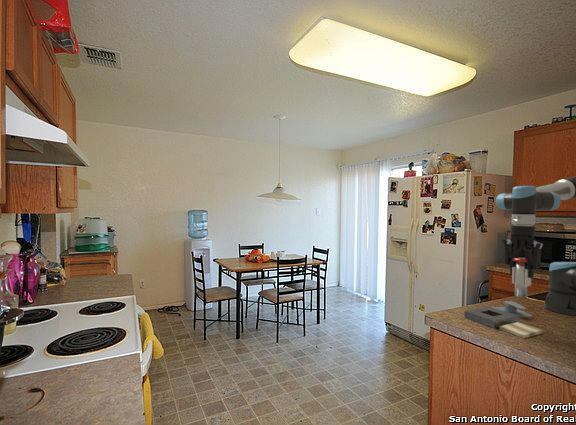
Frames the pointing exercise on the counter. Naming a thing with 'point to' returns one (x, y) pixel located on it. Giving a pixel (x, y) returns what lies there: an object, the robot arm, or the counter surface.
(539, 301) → the counter surface
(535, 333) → the birch pad
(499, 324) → the eye plate
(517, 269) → the red mushroom button
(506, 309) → the shower valve
